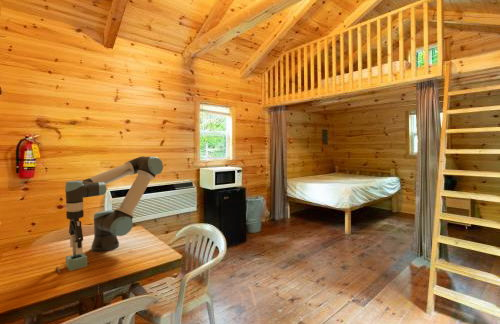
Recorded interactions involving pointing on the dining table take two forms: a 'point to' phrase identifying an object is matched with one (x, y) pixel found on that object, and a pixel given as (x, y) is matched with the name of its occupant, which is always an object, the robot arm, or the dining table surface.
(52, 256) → the dining table surface
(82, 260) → the green hollow block
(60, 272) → the lace
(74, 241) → the grey long bar
